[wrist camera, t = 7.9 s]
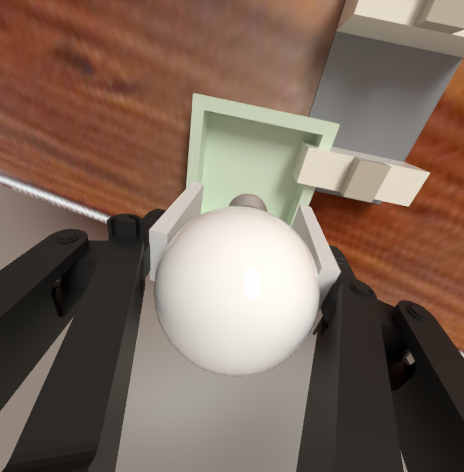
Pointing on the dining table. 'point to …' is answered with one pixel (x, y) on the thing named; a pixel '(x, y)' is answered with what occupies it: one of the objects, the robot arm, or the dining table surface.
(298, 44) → the dining table surface
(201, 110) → the tray
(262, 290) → the lightbulb
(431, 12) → the holder
